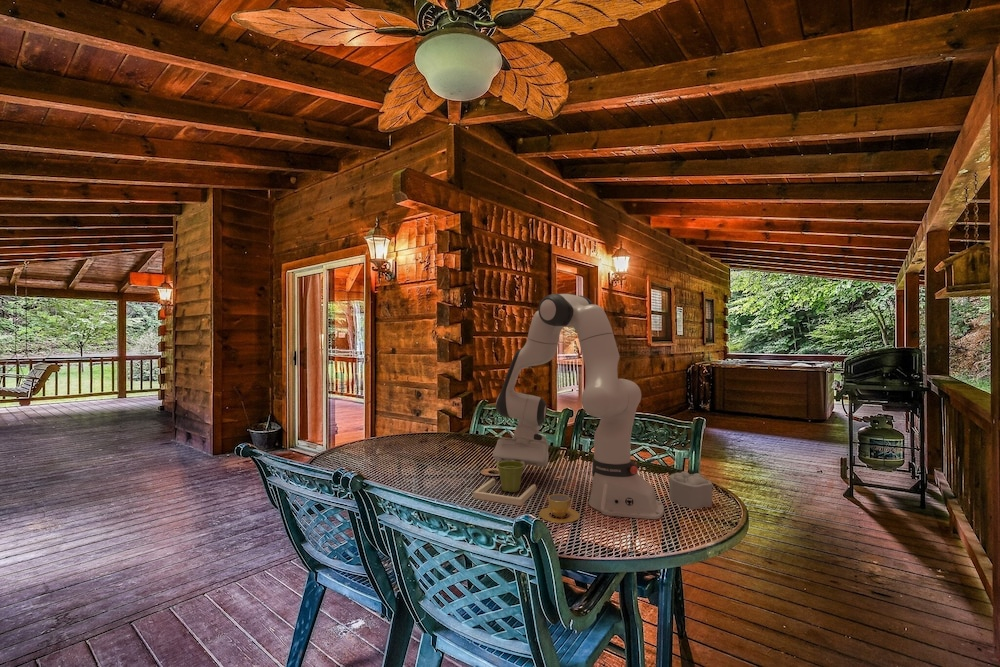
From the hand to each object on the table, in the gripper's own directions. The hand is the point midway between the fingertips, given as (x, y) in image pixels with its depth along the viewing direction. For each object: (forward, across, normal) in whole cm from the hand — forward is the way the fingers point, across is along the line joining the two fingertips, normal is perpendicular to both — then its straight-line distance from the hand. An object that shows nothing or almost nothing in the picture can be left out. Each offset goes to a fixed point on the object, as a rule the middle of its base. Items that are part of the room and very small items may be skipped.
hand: (515, 473), depth 162 cm
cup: (+16, +21, -10) cm, 29 cm away
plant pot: (+6, 0, 0) cm, 6 cm away
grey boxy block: (-3, +56, +9) cm, 57 cm away
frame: (+9, 0, -3) cm, 10 cm away
